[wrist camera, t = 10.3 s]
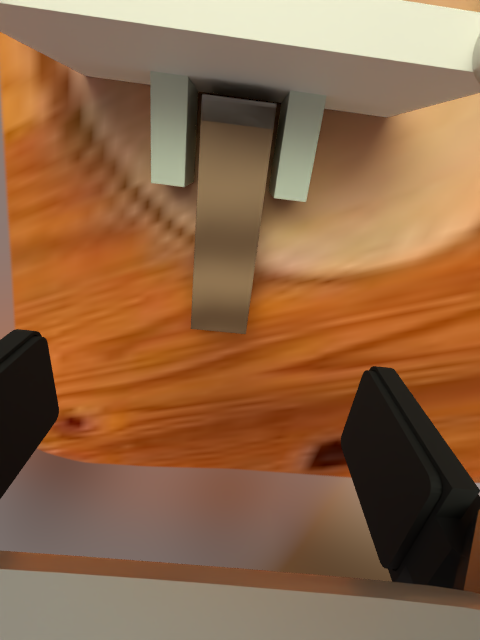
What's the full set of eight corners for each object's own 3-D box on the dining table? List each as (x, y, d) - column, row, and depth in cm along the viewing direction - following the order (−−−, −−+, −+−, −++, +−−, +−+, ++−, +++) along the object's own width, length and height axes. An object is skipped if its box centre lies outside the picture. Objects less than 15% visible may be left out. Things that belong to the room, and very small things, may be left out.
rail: (210, 106, 22) (202, 93, 17) (269, 114, 22) (276, 103, 17) (199, 301, 28) (190, 328, 24) (245, 305, 28) (245, 333, 24)
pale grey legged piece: (400, 82, 21) (632, -26, 9) (366, 203, 24) (499, 252, 12) (79, 36, 20) (-188, -161, 8) (90, 169, 23) (-83, 183, 11)
